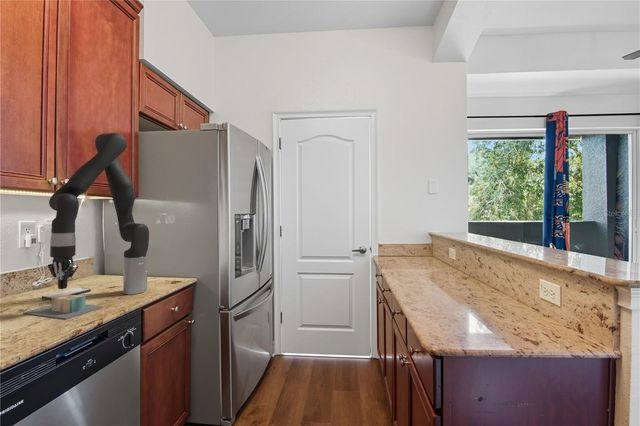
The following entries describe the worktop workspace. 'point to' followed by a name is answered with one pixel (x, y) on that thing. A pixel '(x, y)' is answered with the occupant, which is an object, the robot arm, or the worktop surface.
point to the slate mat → (48, 312)
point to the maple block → (68, 303)
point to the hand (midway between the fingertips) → (62, 288)
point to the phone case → (71, 292)
